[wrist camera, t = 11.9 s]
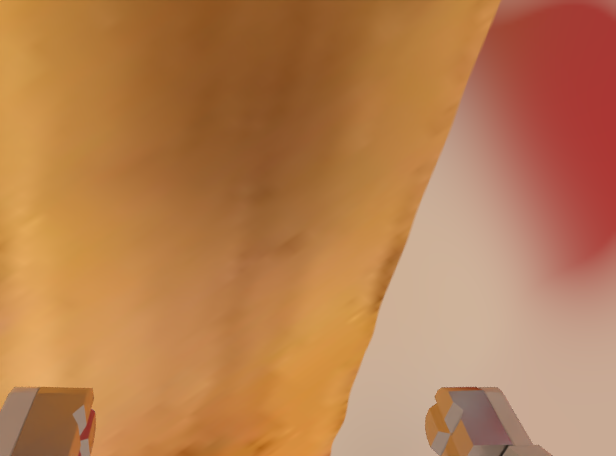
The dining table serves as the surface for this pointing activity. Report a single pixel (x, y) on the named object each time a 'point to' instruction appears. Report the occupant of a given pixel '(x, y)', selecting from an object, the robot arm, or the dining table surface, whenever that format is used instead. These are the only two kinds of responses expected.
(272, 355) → the dining table surface
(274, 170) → the dining table surface
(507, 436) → the robot arm
